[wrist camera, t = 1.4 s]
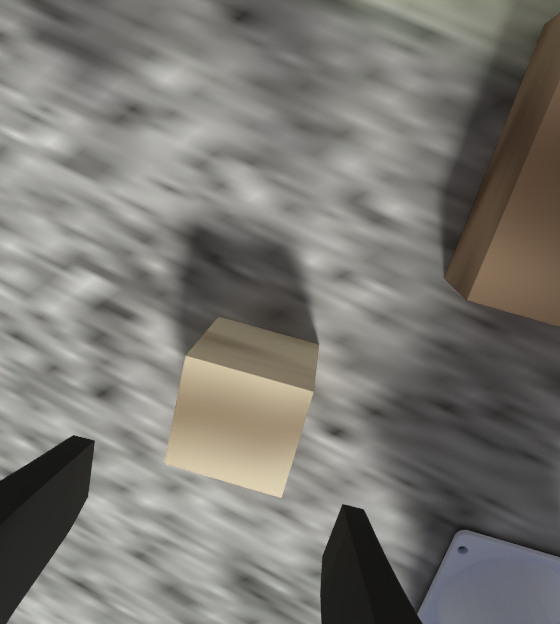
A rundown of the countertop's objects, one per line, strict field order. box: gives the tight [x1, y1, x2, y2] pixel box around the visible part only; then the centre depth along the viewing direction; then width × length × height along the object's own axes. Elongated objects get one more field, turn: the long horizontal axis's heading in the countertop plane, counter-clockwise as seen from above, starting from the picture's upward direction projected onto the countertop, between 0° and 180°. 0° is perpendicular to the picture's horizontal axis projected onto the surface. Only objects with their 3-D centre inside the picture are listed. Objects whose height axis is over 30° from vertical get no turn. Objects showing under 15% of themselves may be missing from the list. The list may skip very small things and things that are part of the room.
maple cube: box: [164, 317, 319, 498], centre depth 20 cm, size 5×5×5 cm
